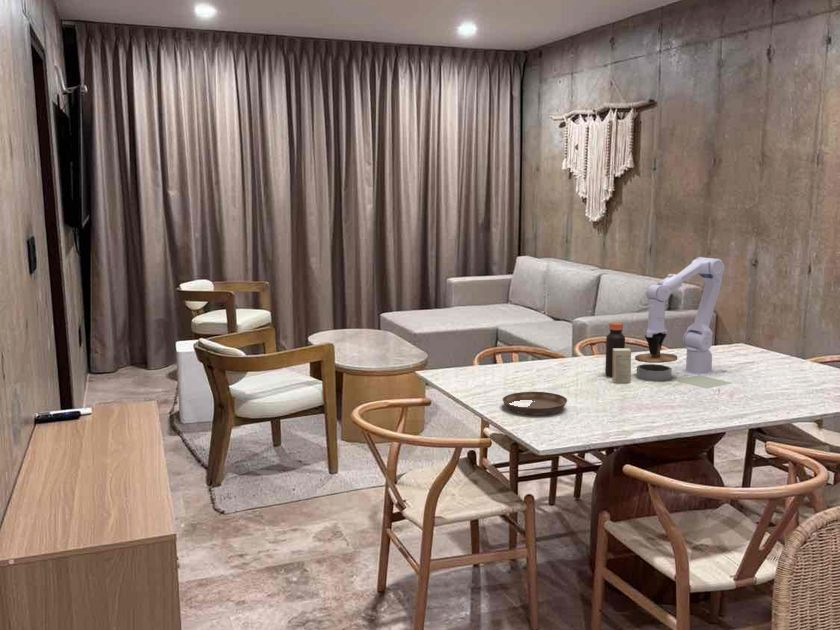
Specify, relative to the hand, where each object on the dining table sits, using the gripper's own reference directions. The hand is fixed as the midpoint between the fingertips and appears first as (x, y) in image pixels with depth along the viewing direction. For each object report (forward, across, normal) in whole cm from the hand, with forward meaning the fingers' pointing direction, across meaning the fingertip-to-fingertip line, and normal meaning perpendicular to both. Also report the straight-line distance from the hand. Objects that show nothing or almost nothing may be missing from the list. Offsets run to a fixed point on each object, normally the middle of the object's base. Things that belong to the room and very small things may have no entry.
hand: (654, 353), depth 289 cm
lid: (+2, 0, 0) cm, 2 cm away
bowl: (+9, 0, 0) cm, 9 cm away
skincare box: (+10, -12, +8) cm, 17 cm away
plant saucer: (+10, -61, +18) cm, 64 cm away
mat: (+9, +3, -17) cm, 20 cm away
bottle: (+10, -4, +14) cm, 17 cm away
